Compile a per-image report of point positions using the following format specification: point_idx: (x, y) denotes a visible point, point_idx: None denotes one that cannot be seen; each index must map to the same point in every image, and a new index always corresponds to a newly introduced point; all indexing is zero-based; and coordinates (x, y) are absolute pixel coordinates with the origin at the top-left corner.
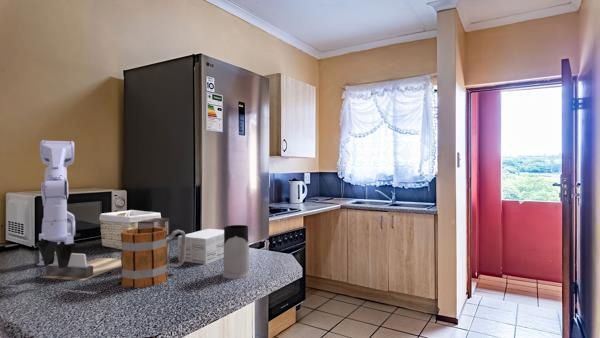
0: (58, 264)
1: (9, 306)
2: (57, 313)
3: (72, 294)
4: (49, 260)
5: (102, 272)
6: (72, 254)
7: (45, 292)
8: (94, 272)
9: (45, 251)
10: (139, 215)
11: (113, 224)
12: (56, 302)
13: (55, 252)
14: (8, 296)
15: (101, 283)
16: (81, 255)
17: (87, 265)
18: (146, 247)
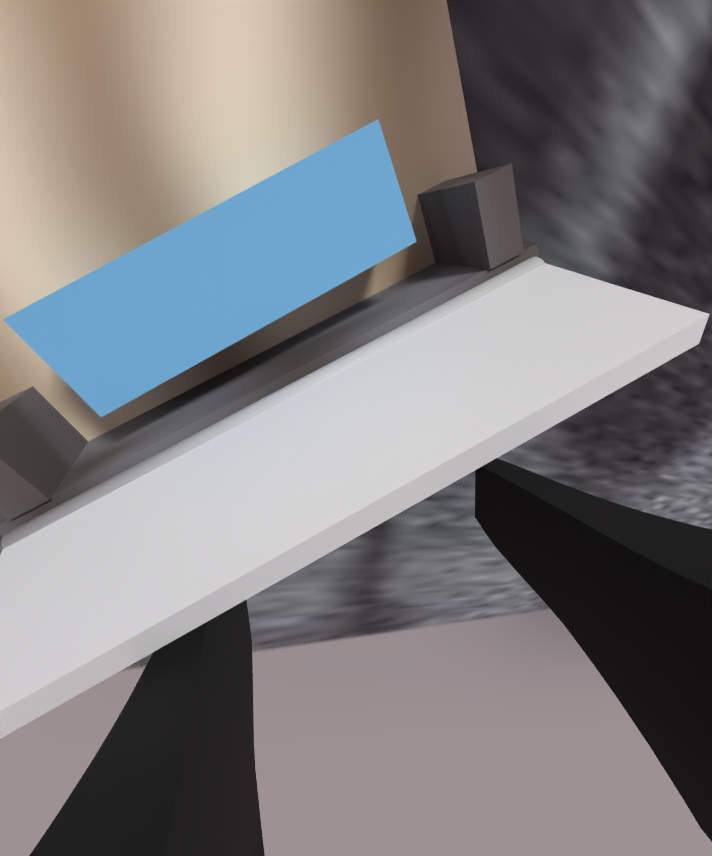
0: (507, 548)
1: (511, 607)
2: (705, 499)
3: (617, 426)
4: (232, 616)
5: (438, 35)
6: (502, 451)
7: (474, 511)
8: (356, 101)
9: (244, 801)
10: None
11: None
12: (630, 490)
13: (98, 655)
14: (383, 625)
15: (629, 234)
16: (647, 360)
17: (355, 164)
18: None
